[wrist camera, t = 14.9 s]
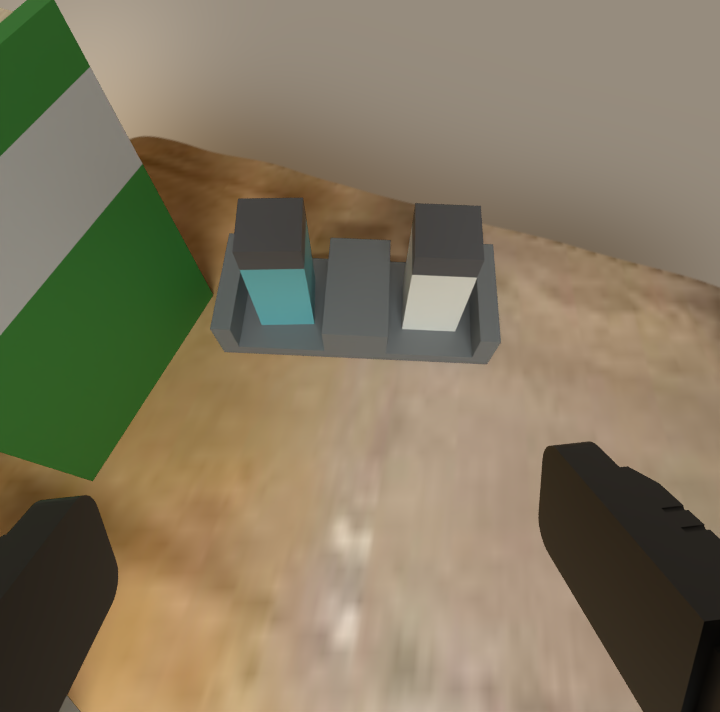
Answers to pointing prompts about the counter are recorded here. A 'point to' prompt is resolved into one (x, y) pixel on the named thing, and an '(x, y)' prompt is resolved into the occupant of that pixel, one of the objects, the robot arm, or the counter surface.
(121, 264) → the hardback book
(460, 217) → the ivory plug
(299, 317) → the grey-topped teal block
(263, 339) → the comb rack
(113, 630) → the counter surface
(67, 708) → the french press
